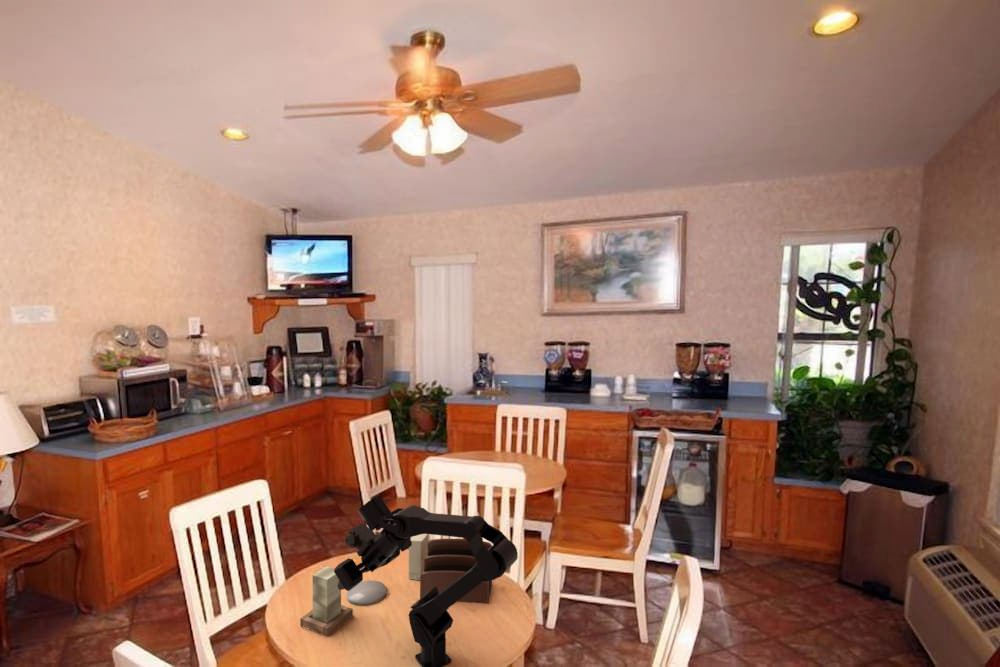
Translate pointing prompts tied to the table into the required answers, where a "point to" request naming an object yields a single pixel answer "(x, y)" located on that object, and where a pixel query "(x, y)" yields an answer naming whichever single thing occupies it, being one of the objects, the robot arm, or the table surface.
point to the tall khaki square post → (326, 595)
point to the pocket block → (331, 626)
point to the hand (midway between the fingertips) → (352, 578)
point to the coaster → (366, 593)
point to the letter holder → (451, 568)
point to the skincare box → (417, 555)
